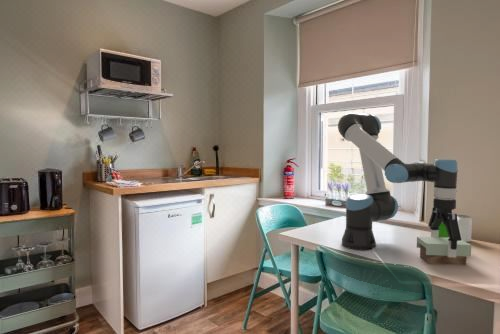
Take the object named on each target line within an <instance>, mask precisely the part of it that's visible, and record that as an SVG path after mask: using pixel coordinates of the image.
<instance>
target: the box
mask: <svg viewBox="0 0 500 334" xmlns="http://www.w3.org/2000/svg"><path fill="white" fill-rule="evenodd" d="M419 249H420V250H419V258H420V259H422V260H423V261H424V262H425V263H426V264H429V265H456V266H457V265H458V266H467V257H468V256H456V258H454V257H448V256H442V255H426V248H425V247H424V246H422V245H421V244H420V248H419Z"/></svg>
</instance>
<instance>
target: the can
mask: <svg viewBox="0 0 500 334" xmlns="http://www.w3.org/2000/svg"><path fill="white" fill-rule="evenodd" d="M457 221H458V226H459V231H460V235H461V240H463V241H465V242H467V243H469V242H471V241H472V230H473V229H472V226H473V220H472V216H471V215H466V214H457Z"/></svg>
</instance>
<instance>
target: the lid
mask: <svg viewBox="0 0 500 334" xmlns="http://www.w3.org/2000/svg"><path fill="white" fill-rule="evenodd" d="M448 239H449V238H444V237H431V236H417V237H416V248H418V249H420V244H421V245H422V246H424V247H425V248H426V255H442V256H448ZM456 256H467V257H472V243H471V244H470V243H469V242H465V241H463V240H461V241H457V252H456Z"/></svg>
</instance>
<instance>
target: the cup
mask: <svg viewBox="0 0 500 334" xmlns="http://www.w3.org/2000/svg"><path fill="white" fill-rule="evenodd" d="M439 237H444V238H449V236H448V233H447V230H446V227H445V225H444V224H443V222H442V223H441V224H440V226H439Z"/></svg>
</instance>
